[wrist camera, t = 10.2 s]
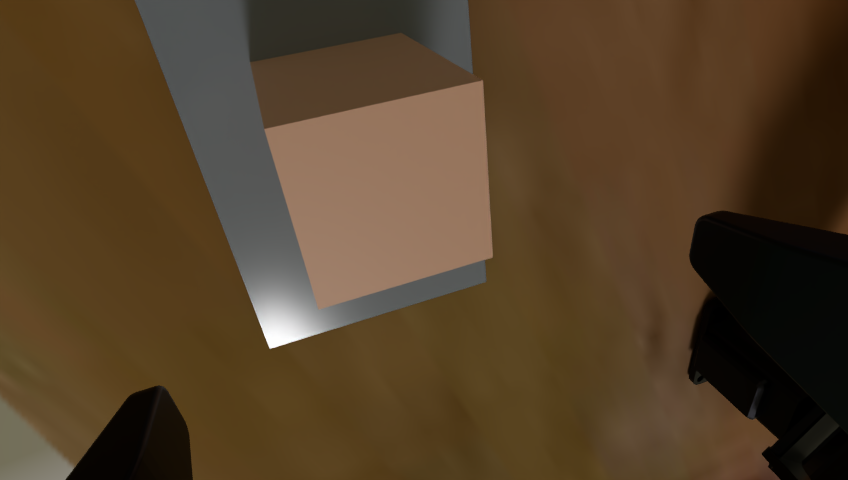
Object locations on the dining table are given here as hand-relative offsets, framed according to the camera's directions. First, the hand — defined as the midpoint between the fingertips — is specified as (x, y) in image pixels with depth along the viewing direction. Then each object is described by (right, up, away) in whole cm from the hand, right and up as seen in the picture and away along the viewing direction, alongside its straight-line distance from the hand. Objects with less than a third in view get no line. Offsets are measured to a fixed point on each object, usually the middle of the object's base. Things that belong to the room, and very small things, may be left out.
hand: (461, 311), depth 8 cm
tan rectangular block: (-3, +5, +8) cm, 10 cm away
